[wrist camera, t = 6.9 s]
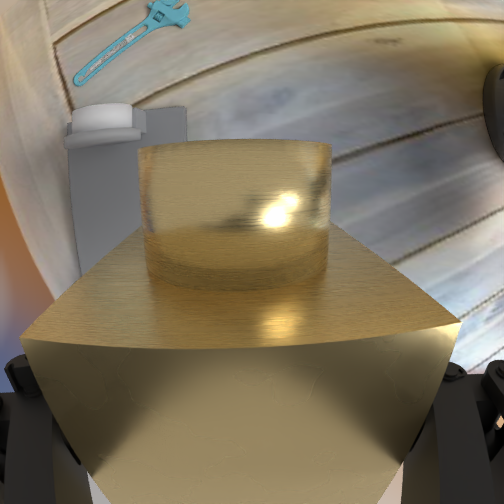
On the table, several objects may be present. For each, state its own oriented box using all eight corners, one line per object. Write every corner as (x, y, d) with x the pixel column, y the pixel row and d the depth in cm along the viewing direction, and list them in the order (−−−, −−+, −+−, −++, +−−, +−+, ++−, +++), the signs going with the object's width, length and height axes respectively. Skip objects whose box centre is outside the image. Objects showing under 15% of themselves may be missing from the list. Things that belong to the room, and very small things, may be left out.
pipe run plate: (186, 108, 27) (165, 89, 18) (197, 322, 33) (187, 376, 24) (74, 124, 26) (22, 118, 17) (98, 320, 33) (65, 366, 24)
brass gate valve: (330, 150, 12) (487, 154, 4) (312, 396, 16) (354, 533, 8) (137, 154, 12) (-16, 165, 3) (170, 401, 16) (145, 543, 7)
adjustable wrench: (173, -13, 22) (198, 16, 23) (174, -9, 23) (199, 19, 24) (63, 68, 24) (82, 100, 25) (67, 70, 25) (86, 101, 26)
